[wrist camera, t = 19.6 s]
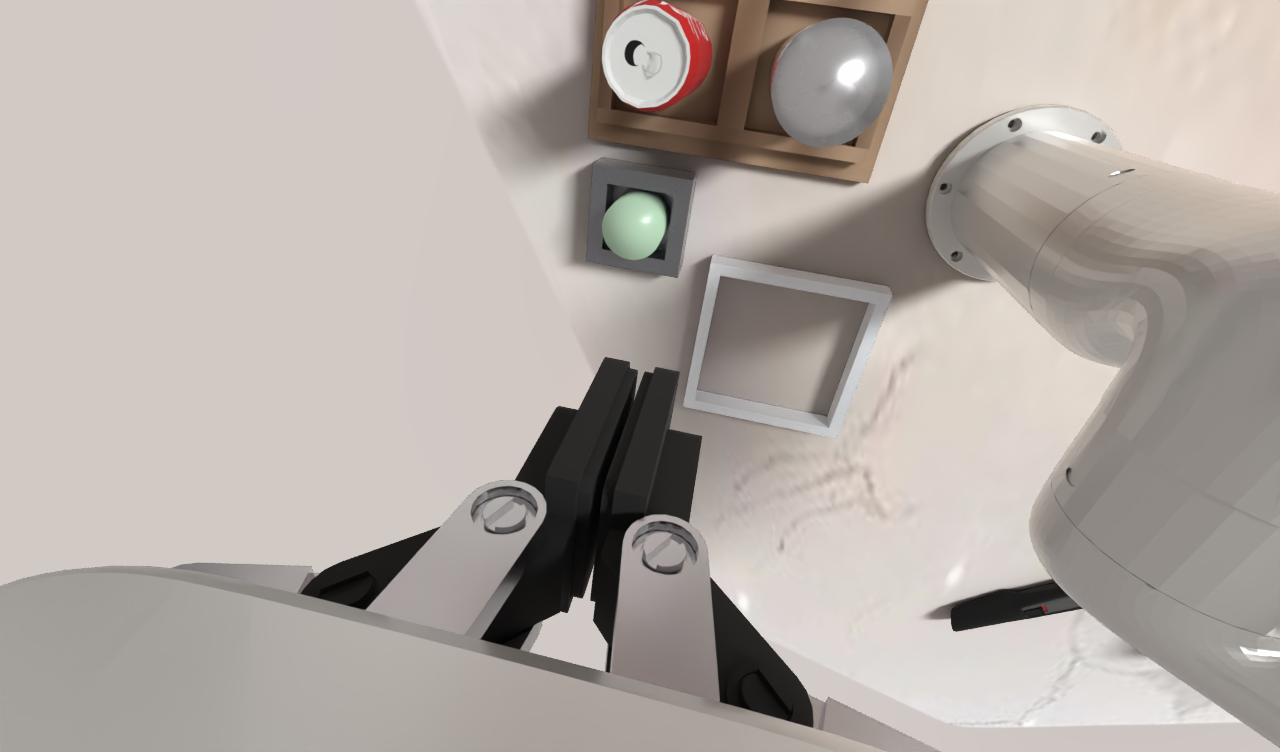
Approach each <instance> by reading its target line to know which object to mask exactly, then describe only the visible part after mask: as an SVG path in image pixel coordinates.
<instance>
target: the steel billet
mask: <svg viewBox="0 0 1280 752" xmlns="http://www.w3.org/2000/svg"><path fill="white" fill-rule="evenodd" d="M892 78H893V67H892V60H891V56H890V52H889V50H888V47H887V45H886V43H885V42H884V40H883V38H882V37H881V36H880V35H879V34H878V32H877V31H876V30H874V29H873V28H872V27H871V26H869V25H867V24H866V23H864V22H861V21H859V20H856V19H851V18H832V19H828V20H824V21H821V22H819V23H816V24H813V25H811V26H808V27H806V28H803V29H801V30H799V31H797V32H795V33H794V34H793V35H791V36H790V37H789V38H788V39H787V40H786V41H785V42H784V43H783V44H782V45H781V47H780V48H779V50H778V51H777V53H776V55H775V57H774V60H773V62H772V65H771V69H770V76H769V84H770V92H771V98H772V103H773V108H774V112H775V114H776V117H777V119H778V121H779V123H780V125H781V126H782V127H783V129H784V130H785V131H786V132H787V133H788V134H789V135H790V136H791V137H792V138H794V139H795V140H797V141H799V142H800V143H803V144H805V145H808V146H813V147H832V146H837V145H841V144H844V143H846V142H848V141H850V140H852V139H854V138H856V137H857V136H859V135H860V134H861V133H863V132H864V131H865V130H866V129H867V128H868V127H870V126H871V125H872V123H873V122H874V121H875V120H876V119H877V117H878V116H879V114H880V113H881V111H882V110H883V108H884V106H885V104H886V101H887V99H888V96H889V93H890V89H891V85H892Z"/></svg>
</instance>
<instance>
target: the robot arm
mask: <svg viewBox="0 0 1280 752" xmlns="http://www.w3.org/2000/svg"><path fill="white" fill-rule="evenodd" d="M1011 120H1013V121H1014V124H1013V125H1012V126H1011V127H1008V123H1009V122H1010V121H1011ZM1095 132H1096V136H1095V137H1094V138H1093V139H1091V138H1092V136H1093V134H1094V133H1095ZM943 183H945V184H946V187H945V188H944V189H940V186H941V185H942V184H943ZM926 224H927V230H928V235H929V237H930V239H931V241H932V244H933V246H934V248H935V249H936V250H937V252H938V253H939V254H940V256H941V257H942V258H943V259H944V260H945V261H946V262H947V263H948V264H949V265H950V266H951V267H953V268H954V269H956V270H958V271H959V272H961V273H962V274H965V275H967V276H970V277H973V278H975V279H980V280H986V281H992V282H998V283H999V284H1000V285H1001V286H1002V287H1003V288H1004V289H1005V290H1006V291H1007V292H1008V293H1009V294H1010V295H1011V296H1012V297H1013V298H1014V299H1015V300H1016V301H1017V302H1018V303H1019V304H1020V305H1021V306H1022V307H1023V308H1024V309H1025V310H1026V311H1027V312H1028V313H1029V314H1030V315H1031V316H1032V317H1033V318H1034V319H1035V320H1036V321H1037V322H1038V323H1039V324H1040V325H1041V326H1042V327H1043V328H1044V329H1045V330H1046V331H1047V332H1048V333H1049V334H1050V335H1051V336H1052V337H1053V338H1054V339H1055V340H1056V341H1058V342H1059V343H1060V344H1061V345H1063V346H1064V347H1065V348H1067V349H1068V350H1070V351H1071V352H1073V353H1075V354H1077V355H1079V356H1081V357H1083V358H1085V359H1088V360H1090V361H1093V362H1097V363H1100V364H1104V365H1108V366H1113V367H1118V368H1121V369H1120V370H1119V372H1118V374H1117V375H1116V376H1115V378H1114V379H1113V381H1112V382H1111V384H1110V385H1109V387H1108V388H1107V390H1106V391H1105V393H1104V394H1103V396H1102V399H1101V401H1100V403H1099V404H1098V406H1097V407H1096V409H1095V410H1094V412H1093V413H1092V415H1091V416H1090V417H1089V419H1088V420H1087V422H1086V423H1085V425H1084V426H1083V428H1082V429H1081V431H1080V432H1079V433H1078V435H1077V436H1076V438H1075V439H1074V441H1073V442H1072V444H1071V445H1070V447H1069V448H1068V449H1067V451H1066V452H1065V454H1064V455H1063V457H1062V458H1061V460H1060V461H1059V463H1058V464H1057V465H1056V467H1055V468H1054V471H1053V472H1052V474H1051V475H1050V477H1049V478H1048V480H1047V481H1046V483H1045V484H1044V486H1043V488H1042V490H1041V491H1040V493H1039V495H1038V497H1037V499H1036V500H1035V503H1034V505H1033V508H1032V512H1031V516H1030V520H1029V532H1030V538H1031V542H1032V545H1033V548H1034V550H1035V552H1036V554H1037V556H1038V558H1039V560H1040V562H1041V564H1042V565H1043V567H1044V568H1045V569H1046V571H1047V572H1048V573H1049V575H1050V576H1051V577H1052V579H1053V580H1054V581H1055V582H1056V583H1057V584H1058V585H1059V586H1060V587H1061V589H1062V590H1063V591H1064V592H1065V593H1066V594H1067V595H1069V596H1070V597H1071V598H1072V599H1073V600H1074V601H1075V602H1076V603H1077V604H1078V605H1079V606H1080V607H1082V608H1083V609H1084V610H1085V611H1087V612H1088V613H1089V614H1090V615H1091V616H1093V617H1094V618H1095V619H1096V620H1097V621H1099V622H1100V623H1101V624H1102V625H1104V626H1105V627H1106V628H1108V629H1109V630H1110V631H1112V632H1113V633H1114V634H1116V635H1117V636H1119V637H1120V638H1121V639H1123V640H1124V641H1125V642H1127V643H1128V644H1130V645H1131V646H1133V647H1134V648H1135V649H1137V650H1138V651H1140V652H1141V653H1143V654H1144V655H1145V656H1147V657H1148V658H1150V659H1151V660H1153V661H1154V662H1155V663H1157V664H1158V665H1160V666H1161V667H1163V668H1164V669H1165V670H1167V671H1168V672H1170V673H1171V674H1173V675H1174V676H1176V677H1177V678H1179V679H1180V680H1182V681H1183V682H1184V683H1186V684H1187V685H1189V686H1190V687H1192V688H1193V689H1195V690H1196V691H1198V692H1199V693H1201V694H1202V695H1203V696H1205V697H1206V698H1208V699H1209V700H1211V701H1212V702H1214V703H1215V704H1217V705H1218V706H1220V707H1221V708H1222V709H1224V710H1225V711H1227V712H1228V713H1230V714H1231V715H1233V716H1234V717H1236V718H1237V719H1238V720H1240V721H1241V722H1243V723H1244V724H1246V725H1247V726H1249V727H1250V728H1252V729H1253V730H1254V731H1256V732H1258V733H1259V734H1260V735H1262V736H1263V737H1265V738H1266V739H1268V740H1269V741H1271V742H1272V743H1273V744H1275V745H1277V746H1278V747H1279V748H1280V194H1279V193H1274V192H1269V191H1265V190H1260V189H1256V188H1252V187H1249V186H1245V185H1241V184H1237V183H1234V182H1230V181H1227V180H1223V179H1220V178H1216V177H1213V176H1209V175H1206V174H1201V173H1197V172H1193V171H1190V170H1187V169H1183V168H1180V167H1176V166H1173V165H1170V164H1166V163H1163V162H1159V161H1156V160H1153V159H1149V158H1146V157H1142V156H1139V155H1136V154H1132V153H1129V152H1126V151H1123V149H1122V146H1121V143H1120V141H1119V140H1118V138H1117V137H1116V135H1115V133H1114V132H1113V130H1112V129H1111V128H1110V127H1109V126H1108V125H1106V124H1105V123H1104V122H1103V121H1102V120H1101V119H1100V118H1098V117H1096V116H1094V115H1092V114H1090V113H1088V112H1086V111H1083V110H1080V109H1076V108H1072V107H1068V106H1060V105H1036V106H1030V107H1025V108H1021V109H1017V110H1013V111H1010V112H1008V113H1006V114H1003V115H1001V116H998V117H996V118H994V119H992V120H990V121H989V122H987V123H985V124H984V125H982V126H980V127H979V128H977V129H976V130H974V131H973V132H972V133H971V134H970V135H968V136H967V137H966V138H965V139H963V140H962V141H961V142H960V143H959V144H958V145H957V146H956V148H955V149H954V150H953V151H952V152H951V153H950V154H949V155H948V156H947V158H946V159H945V161H944V162H943V164H942V166H941V167H940V169H939V170H938V172H937V174H936V176H935V178H934V180H933V183H932V185H931V187H930V190H929V195H928V199H927V203H926ZM955 251H957V253H956V254H955V255H953V256H951V255H952V253H953V252H955ZM679 373H680V372H678V371H673V370H668V369H663V368H658V367H655V370H654V373H650V372H644V375H643V378H642V380H641V383H640V386H639V389H638V391H637V394H636V397H635V390H636V382H637V375H638V370H635V369H630V362H628V361H623V360H618V359H613V358H608V357H605V358H604V360H603V362H602V364H601V366H600V368H599V370H598V372H597V374H596V376H595V378H594V380H593V382H592V384H591V386H590V388H589V390H588V392H587V394H586V396H585V398H584V400H583V402H582V404H581V406H580V408H579V410H576V409H571V408H566V407H561V406H559V407H557V408H556V409H555V411H554V413H553V414H552V416H551V418H550V419H549V421H548V423H547V425H546V426H545V428H544V430H543V432H542V433H541V435H540V437H539V439H538V441H537V442H536V444H535V446H534V448H533V449H532V451H531V453H530V455H529V456H528V458H527V460H526V462H525V463H524V465H523V467H522V469H521V470H520V472H519V474H518V476H517V477H516V479H515V480H501V481H496V482H492V483H488V484H486V485H484V486H482V487H479V488H477V489H476V490H475V491H474V492H472V494H470V495H469V496H468V497H467V498H466V499H465V500H464V501H463V502H462V504H461V505H460V506H459V507H458V508H457V509H456V510H455V511H454V512H453V514H452V515H451V516H450V517H449V518H448V519H447V520H446V521H445V522H444V524H443V525H442V526H441V527H438V528H435V529H432V530H430V531H427V532H424V533H421V534H418V535H415V536H413V537H410V538H407V539H404V540H401V541H399V542H396V543H393V544H390V545H387V546H385V547H382V548H379V549H376V550H373V551H371V552H368V553H365V554H363V555H359V556H357V557H354V558H351V559H348V560H345V561H343V562H340V563H338V564H336V565H333V566H331V567H329V568H327V569H325V570H324V571H322V572H321V573H314V572H313V569H312V566H285V565H254V564H253V565H252V564H220V563H192V564H183V565H179V566H177V567H173V568H162V567H152V566H105V567H94V568H83V569H72V570H63V571H57V572H51V573H45V574H40V575H36V576H32V577H27V578H23V579H20V580H17V581H14V582H11V583H8V584H5V585H2V586H0V752H941V751H938V750H937V749H935V748H932V747H930V746H928V745H926V744H924V743H922V742H920V741H918V740H916V739H914V738H912V737H910V736H908V735H906V734H904V733H902V732H899V731H898V730H895V729H893V728H891V727H889V726H887V725H885V724H883V723H881V722H879V721H877V720H875V719H873V718H871V717H869V716H867V715H865V714H862V713H861V712H858V711H856V710H854V709H852V708H850V707H848V706H846V705H844V704H842V703H840V702H838V701H836V700H833V699H831V698H830V697H828V699H827V700H826V702H823V701H821V700H819V699H817V698H814V697H812V696H810V695H808V693H807V691H806V689H805V688H804V686H803V685H802V684H801V682H800V681H799V679H798V678H797V676H796V675H795V674H794V673H793V672H792V671H791V670H790V668H789V667H788V666H787V665H786V664H785V663H784V661H783V660H782V659H781V658H780V657H779V656H778V655H777V653H776V652H775V651H774V650H773V649H772V648H771V646H769V644H768V643H767V642H766V641H765V640H764V638H763V637H762V636H761V635H760V634H759V633H758V631H757V630H756V629H755V628H754V627H753V626H752V625H751V623H750V622H749V621H748V620H747V619H746V618H745V616H744V615H743V614H742V613H741V612H740V611H739V610H738V608H737V607H736V606H735V605H734V604H733V603H732V601H731V600H730V599H729V598H728V597H727V596H726V595H725V593H724V592H723V591H722V590H721V589H720V588H719V586H718V585H717V584H716V583H715V582H714V581H713V580H712V578H711V577H710V571H709V558H708V550H707V546H706V542H705V540H704V538H703V537H702V535H701V534H700V532H699V531H698V530H697V529H696V528H694V527H693V526H692V525H691V524H690V523H689V518H690V512H691V505H692V499H693V492H694V486H695V480H696V473H697V467H698V460H699V454H700V447H701V440H702V436H699V435H694V434H689V433H684V432H680V431H675V430H670V429H669V428H670V423H671V417H672V412H673V406H674V401H675V396H676V390H677V385H678V379H679ZM634 397H635V400H634ZM593 566H594V571H593V580H592V589H591V601H594V602H595V610H594V618H593V621H594V623H595V624H596V626H597V627H598V629H599V631H600V632H601V634H602V635H603V637H604V639H605V640H606V642H607V643H608V646H607V653H606V663H605V672H603V671H600V670H596V669H592V668H588V667H584V666H580V665H576V664H572V663H568V662H565V661H561V660H557V659H553V658H549V657H546V656H542V655H537V654H533V653H530V652H529V651H530V649H531V648H532V646H533V644H534V642H535V640H536V639H537V637H538V635H539V632H540V629H541V627H542V621H543V620H545V619H547V618H549V617H551V616H553V615H555V614H557V613H559V612H560V611H562V612H565V613H568V610H569V607H570V604H571V602H572V599H573V596H574V597H578V598H583V596H584V593H585V591H586V587H587V584H588V581H589V578H590V575H591V572H592V569H593Z"/></svg>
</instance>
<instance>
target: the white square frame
mask: <svg viewBox="0 0 1280 752" xmlns="http://www.w3.org/2000/svg"><path fill="white" fill-rule="evenodd" d="M720 276H725V277H730V278H736V279H741V280H747V281H752V282H758V283H763V284H769V285H774V286H780V287H785V288H791V289H796V290H802V291H807V292H813V293H818V294H824V295H829V296H835V297H840V298H846V299H851V300H857V301H862V302H868V303H869V304H868V307H867V310H866V312H865V315H864V318H863V321H862V323H861V326H860V329H859V331H858V334H857V337H856V339H855V342H854V345H853V347H852V350H851V353H850V356H849V358H848V361H847V364H846V366H845V369H844V372H843V374H842V377H841V380H840V383H839V385H838V388H837V391H836V393H835V396H834V399H833V401H832V404H831V407H830V409H829V412H828V415H827V416H823V415H818V414H813V413H808V412H803V411H798V410H794V409H789V408H784V407H779V406H774V405H769V404H764V403H759V402H754V401H749V400H744V399H740V398H735V397H730V396H725V395H720V394H715V393H710V392H705V391H700V390H697V386H698V381H699V376H700V371H701V366H702V362H703V357H704V352H705V347H706V342H707V338H708V333H709V328H710V323H711V318H712V314H713V309H714V304H715V299H716V294H717V290H718V285H719V280H720ZM892 296H893V295H892V293H891V291H890V289H889V287H888V286H885V285H879V284H873V283H868V282H862V281H857V280H851V279H845V278H840V277H834V276H829V275H823V274H817V273H812V272H806V271H801V270H795V269H789V268H784V267H778V266H773V265H767V264H762V263H756V262H750V261H745V260H739V259H734V258H728V257H722V256H717V255H713V256H712V260H711V265H710V270H709V275H708V280H707V285H706V290H705V295H704V300H703V306H702V311H701V316H700V321H699V326H698V331H697V336H696V341H695V346H694V352H693V357H692V362H691V367H690V372H689V377H688V382H687V387H686V392H685V398H684V403H683V407H686V408H691V409H696V410H701V411H705V412H710V413H715V414H720V415H725V416H730V417H734V418H739V419H744V420H749V421H754V422H759V423H763V424H768V425H773V426H778V427H783V428H788V429H792V430H797V431H802V432H807V433H812V434H816V435H821V436H826V437H831V438H837V436H838V433H839V431H840V428H841V426H842V423H843V421H844V418H845V416H846V413H847V410H848V408H849V405H850V403H851V400H852V398H853V395H854V393H855V390H856V388H857V385H858V382H859V380H860V377H861V375H862V372H863V370H864V367H865V365H866V362H867V360H868V357H869V354H870V352H871V349H872V347H873V344H874V342H875V339H876V337H877V334H878V332H879V329H880V327H881V324H882V321H883V319H884V316H885V314H886V311H887V309H888V306H889V304H890V301H891V299H892Z"/></svg>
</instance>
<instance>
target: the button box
mask: <svg viewBox="0 0 1280 752" xmlns="http://www.w3.org/2000/svg"><path fill="white" fill-rule="evenodd" d="M696 178H697V173H694V172H688V171H682V170H676V169H670V168H664V167H658V166H652V165H646V164H640V163H634V162H628V161H621V160H615V159H609V158H603V157H602V158H600V159H599V160H598V161H596V162H595V163H593V167H592V182H591V197H590V211H589V226H588V240H587V255H586V261H588V262H594V263H599V264H605V265H610V266H615V267H621V268H626V269H632V270H637V271H643V272H648V273H653V274H659V275H664V276H670V277H675V278H678V275H679V272H680V270H681V267H682V262H683V256H684V250H685V244H686V238H687V232H688V226H689V220H690V214H691V208H692V202H693V196H694V190H695V184H696ZM633 188H636V189H642V190H648V191H654V192H656V193H658V194H659V195H660V196H661V197H662V198H663V200H664V201H665V203H666V205H667V207H668V210H669V224H668V228H667V230H666V232H665V234H664V236H663V238H662V240H661V241H660V243H659V245H658V247H657V248H656V250H655V251H654V252H653V253H652V254H651V255H649V256H647V257H645V258H643V259H639V260H629V259H625V258H622V257H620V256H618V255H617V254H615V253H614V252H613V251H612V250H611V249H610V248H609V247H608V245H607V244H606V242H605V240H604V237H603V233H602V222H603V218H604V215H605V213H606V212H607V210H608V209H609V208H610V207H611V206H612V205H613V203H614V202H615V201H616V200H617V199H618V198H619V197H620V196H621V195H622V194H623V193H624V192H626V191H628V190H630V189H633Z"/></svg>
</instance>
